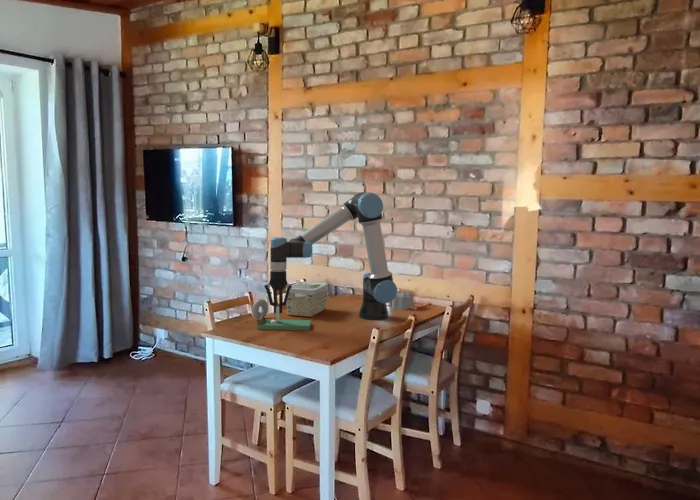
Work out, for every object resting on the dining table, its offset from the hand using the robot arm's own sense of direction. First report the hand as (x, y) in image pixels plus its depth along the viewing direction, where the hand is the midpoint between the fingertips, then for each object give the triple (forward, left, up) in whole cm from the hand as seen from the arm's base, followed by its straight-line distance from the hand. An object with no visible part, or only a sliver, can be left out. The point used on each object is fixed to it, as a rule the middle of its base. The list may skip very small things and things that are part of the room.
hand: (277, 319), depth 271 cm
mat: (-3, 0, -3) cm, 5 cm away
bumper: (+8, 0, -1) cm, 8 cm away
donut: (+11, -15, -3) cm, 19 cm away
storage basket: (-11, -33, -4) cm, 35 cm away
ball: (+2, 0, -2) cm, 3 cm away
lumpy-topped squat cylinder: (-64, -52, -4) cm, 83 cm away
